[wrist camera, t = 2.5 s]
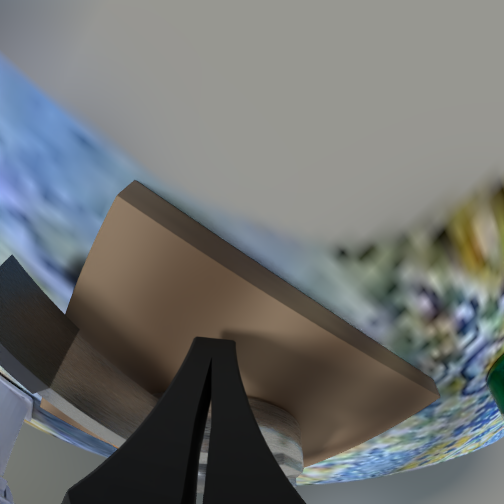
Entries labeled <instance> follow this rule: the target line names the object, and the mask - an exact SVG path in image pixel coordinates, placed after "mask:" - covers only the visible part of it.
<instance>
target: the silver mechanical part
mask: <svg viewBox="0 0 504 504" xmlns="http://www.w3.org/2000/svg"><path fill="white" fill-rule="evenodd" d="M79 330H80V329H79V328H78V327H77V326H76V325H75V324H74V323H73V322H72V321H71V320H70V319H69V318H68V317H67V316H66V315H65V314H64V313H63V312H62V311H61V310H60V309H59V308H58V307H57V306H56V305H55V304H54V303H53V302H52V301H51V300H50V298H49V297H48V296H47V295H46V294H45V293H44V292H43V291H42V290H41V289H40V287H39V286H38V285H37V284H36V283H35V282H34V281H33V279H32V278H31V277H30V276H29V275H28V273H27V272H26V271H25V270H24V269H23V267H22V266H21V265H20V264H19V262H18V261H17V260H16V259H15V257H14V256H13V255H11V256H10V257H9V258H8V259H7V260H6V261H5V262H4V263H3V264H2V265H1V266H0V365H1V366H2V367H3V368H4V369H5V370H6V371H7V372H8V373H9V374H10V375H11V376H12V377H14V378H15V379H16V380H17V381H18V382H19V383H20V384H21V385H23V386H24V387H25V388H26V389H27V390H29V391H30V392H31V393H32V394H34V393H38V394H39V395H40V396H42V397H43V398H44V399H45V400H47V401H48V402H49V403H51V404H52V405H53V406H55V407H56V408H57V409H59V410H60V411H61V412H63V413H64V414H66V415H67V416H69V417H70V418H71V419H73V420H74V421H76V422H77V423H79V424H80V425H82V426H83V427H85V428H86V429H88V430H90V431H91V432H93V433H94V434H96V435H98V436H99V437H101V438H103V439H104V440H106V441H108V442H109V443H111V444H113V445H115V446H116V447H118V448H119V447H120V446H121V445H122V444H123V443H124V442H125V441H126V440H127V439H128V438H129V437H130V436H131V435H132V434H133V432H134V431H135V430H136V429H137V428H138V427H139V426H140V424H141V423H142V422H143V421H144V420H145V418H146V417H147V416H148V415H149V413H150V412H151V411H152V409H153V408H154V407H155V405H156V404H157V402H158V401H159V400H160V398H161V397H162V395H163V394H164V392H161V393H157V394H152V395H151V394H150V393H149V392H147V391H146V390H144V389H143V388H142V387H140V386H139V385H138V384H136V383H135V382H134V381H133V380H131V379H130V378H129V377H127V376H126V375H125V374H124V373H122V372H121V371H120V370H119V369H117V368H116V367H115V366H114V365H113V364H111V363H110V362H109V361H108V360H107V359H105V358H104V357H103V356H102V355H101V354H100V353H98V352H97V351H96V350H95V349H94V348H93V347H92V346H91V345H89V344H88V343H87V342H86V341H85V340H84V339H83V338H82V337H81V336H80V335H79V334H78V332H79ZM248 401H249V404H250V406H251V409H252V412H253V414H254V417H255V419H256V421H257V424H258V426H259V428H260V430H261V433H262V435H263V437H264V439H265V441H266V443H267V445H268V447H269V448H270V450H271V452H272V454H273V456H274V457H275V459H276V461H277V463H278V464H279V466H280V467H281V469H282V470H283V472H284V474H285V475H286V477H287V478H288V480H289V481H290V483H291V484H292V486H293V487H296V477H298V476H299V475H300V474H301V473H303V469H304V464H303V453H302V442H301V432H300V426H299V424H298V422H297V420H296V419H295V418H294V417H293V416H292V415H290V414H289V413H287V412H286V411H284V410H282V409H280V408H278V407H276V406H273V405H271V404H268V403H265V402H262V401H259V400H255V399H251V398H248ZM210 429H211V402H210V407H209V412H208V417H207V422H206V427H205V432H204V437H203V442H202V447H201V453H200V459H199V470H198V482H197V493H204V486H205V476H206V467H207V457H208V448H209V438H210Z"/></svg>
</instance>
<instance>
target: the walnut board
mask: <svg viewBox="0 0 504 504" xmlns="http://www.w3.org/2000/svg"><path fill="white" fill-rule="evenodd" d="M65 315H66V316H67V317H68V318H69V319H70V320H71V321H72V322H73V323H74V324H75V325H76V326H77V327H78V328H79V329H80V330H79V332H78V334H79V335H80V336H81V337H82V338H83V339H84V340H85V341H86V342H87V343H88V344H89V345H91V346H92V347H93V348H94V349H95V350H96V351H97V352H98V353H100V354H101V355H102V356H103V357H104V358H105V359H107V360H108V361H109V362H110V363H111V364H113V365H114V366H115V367H116V368H117V369H119V370H120V371H121V372H122V373H124V374H125V375H126V376H127V377H129V378H130V379H131V380H133V381H134V382H135V383H136V384H138V385H139V386H140V387H142V388H143V389H144V390H146V391H147V392H149V393H150V394H151V395H152V394H157V393H161V392H165V391H166V390H167V388H168V386H169V385H170V383H171V382H172V380H173V378H174V377H175V375H176V373H177V372H178V370H179V368H180V366H181V365H182V363H183V361H184V359H185V357H186V355H187V353H188V351H189V349H190V346H191V344H192V341H193V339H194V338H195V337H197V336H198V337H207V338H217V339H227V340H233V341H235V342H236V353H237V360H238V366H239V370H240V374H241V378H242V382H243V385H244V389H245V392H246V395H247V398H251V399H255V400H259V401H262V402H265V403H268V404H271V405H273V406H276V407H278V408H280V409H282V410H284V411H286V412H287V413H289V414H290V415H292V416H293V417H294V418H295V419H296V420H297V422H298V424H299V426H300V432H301V442H302V453H303V464H304V468H305V467H307V466H310V465H313V464H315V463H318V462H320V461H323V460H325V459H328V458H330V457H333V456H335V455H337V454H340V453H342V452H344V451H346V450H349V449H351V448H353V447H355V446H357V445H359V444H361V443H363V442H365V441H367V440H369V439H371V438H373V437H375V436H377V435H379V434H381V433H383V432H385V431H386V430H388V429H390V428H392V427H394V426H395V425H397V424H399V423H401V422H402V421H404V420H406V419H407V418H409V417H411V416H412V415H414V414H416V413H417V412H419V411H420V410H422V409H423V408H425V407H427V406H428V405H430V404H431V403H433V402H434V401H436V400H437V399H438V398H440V394H439V392H438V390H437V387H436V385H435V383H434V380H433V379H432V378H430V377H428V376H427V375H425V374H424V373H422V372H421V371H419V370H418V369H416V368H415V367H413V366H412V365H410V364H409V363H407V362H406V361H404V360H403V359H401V358H400V357H398V356H397V355H395V354H393V353H392V352H390V351H389V350H387V349H386V348H384V347H383V346H381V345H380V344H378V343H377V342H375V341H374V340H372V339H371V338H369V337H368V336H366V335H365V334H363V333H362V332H360V331H359V330H357V329H356V328H354V327H353V326H351V325H350V324H348V323H347V322H345V321H344V320H342V319H341V318H339V317H338V316H336V315H335V314H333V313H332V312H330V311H329V310H327V309H326V308H324V307H323V306H321V305H320V304H318V303H317V302H315V301H314V300H312V299H311V298H309V297H308V296H306V295H305V294H303V293H302V292H300V291H299V290H297V289H296V288H294V287H293V286H291V285H290V284H288V283H287V282H285V281H284V280H282V279H281V278H279V277H278V276H276V275H275V274H273V273H272V272H270V271H269V270H267V269H266V268H264V267H263V266H261V265H260V264H258V263H257V262H255V261H254V260H252V259H251V258H249V257H248V256H246V255H245V254H243V253H242V252H240V251H239V250H237V249H236V248H235V247H233V246H232V245H230V244H229V243H227V242H226V241H224V240H223V239H221V238H220V237H218V236H217V235H215V234H214V233H212V232H211V231H209V230H208V229H206V228H205V227H203V226H202V225H200V224H199V223H198V222H196V221H195V220H193V219H192V218H190V217H189V216H187V215H186V214H184V213H183V212H181V211H180V210H178V209H177V208H175V207H174V206H172V205H171V204H170V203H168V202H167V201H165V200H164V199H162V198H161V197H159V196H158V195H156V194H155V193H153V192H152V191H150V190H149V189H147V188H146V187H145V186H143V185H142V184H140V183H139V182H137V181H136V180H134V181H133V182H132V183H131V184H129V185H128V186H127V187H126V188H125V189H124V190H122V191H121V192H120V193H119V194H118V195H117V196H116V198H115V200H114V202H113V204H112V206H111V208H110V210H109V212H108V214H107V216H106V218H105V220H104V222H103V224H102V226H101V228H100V230H99V232H98V234H97V236H96V239H95V241H94V243H93V245H92V247H91V250H90V252H89V254H88V257H87V259H86V261H85V264H84V266H83V268H82V271H81V273H80V276H79V278H78V281H77V283H76V286H75V289H74V291H73V294H72V297H71V299H70V302H69V305H68V308H67V310H66V313H65ZM40 407H41V408H43V409H44V410H46V411H48V412H49V413H51V414H53V415H54V416H56V417H58V418H59V419H61V420H63V421H65V422H67V423H68V424H70V425H72V426H74V427H76V428H78V429H80V430H82V431H84V432H85V433H87V434H89V435H92V436H94V437H96V438H98V439H100V440H102V441H104V442H106V443H109V442H108V441H106V440H104V439H103V438H101V437H99V436H98V435H96V434H94V433H93V432H91V431H90V430H88V429H86V428H85V427H83V426H82V425H80V424H79V423H77V422H76V421H74V420H73V419H71V418H70V417H69V416H67V415H66V414H64V413H63V412H61V411H60V410H59V409H57V408H56V407H55V406H53V405H52V404H51V403H49V402H48V401H47V400H45V399H44V398H43V397H42V400H41V405H40ZM109 444H111V443H109ZM111 445H113V444H111ZM113 446H114V447H116V446H115V445H113ZM116 448H118V447H116Z"/></svg>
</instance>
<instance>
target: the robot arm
mask: <svg viewBox="0 0 504 504" xmlns="http://www.w3.org/2000/svg"><path fill="white" fill-rule="evenodd" d="M210 402H211V429H210V438H209V448H208V457H207V467H206V476H205V486H204V495H203V504H306V503H305V502H304V500H303V499H302V498H301V496H300V495H299V494H298V493H297V491H296V490H295V488H294V487H293V486H292V484H291V483H290V481H289V480H288V478H287V477H286V475H285V474H284V472H283V470H282V469H281V467H280V466H279V464H278V463H277V461H276V459H275V457H274V456H273V454H272V452H271V450H270V448H269V447H268V445H267V443H266V441H265V439H264V437H263V435H262V433H261V430H260V428H259V426H258V424H257V421H256V419H255V417H254V414H253V412H252V409H251V406H250V404H249V401H248V398H247V395H246V392H245V389H244V385H243V382H242V378H241V374H240V370H239V366H238V360H237V353H236V342H235V341H233V340H227V339H217V338H207V337H198V336H197V337H195V338H194V339H193V341H192V344H191V346H190V349H189V351H188V353H187V355H186V357H185V359H184V361H183V363H182V365H181V366H180V368H179V370H178V372H177V373H176V375H175V377H174V378H173V380H172V382H171V383H170V385H169V386H168V388H167V390H166V391H165V392H164V394H163V395H162V397H161V398H160V400H159V401H158V402H157V404H156V405H155V407H154V408H153V409H152V411H151V412H150V413H149V415H148V416H147V417H146V418H145V420H144V421H143V422H142V423H141V424H140V426H139V427H138V428H137V429H136V430H135V431H134V432H133V434H132V435H131V436H130V437H129V438H128V439H127V440H126V441H125V442H124V443H123V444H122V445H121V446H120V447H119V448H118V449H117V450H116V451H115V452H114V453H113V454H112V455H111V456H110V457H109V458H107V459H106V460H105V461H104V462H103V463H102V464H101V465H100V466H98V467H97V468H96V469H95V470H94V471H92V472H91V473H90V474H89V475H87V476H86V477H85V478H83V479H82V480H80V481H79V482H78V483H76V484H75V485H73V486H72V487H71V488H69V489H68V491H67V492H66V494H65V496H64V499H63V501H62V503H61V504H196V496H197V495H196V494H197V482H198V470H199V459H200V453H201V447H202V442H203V437H204V432H205V427H206V422H207V417H208V412H209V407H210ZM32 409H33V399H32V398H31V397H30V396H28V395H27V394H26V393H24V392H23V391H21V390H20V389H18V388H17V387H16V386H14V385H13V384H11V383H10V382H9V381H7V380H6V379H5V378H3V377H2V376H1V375H0V475H1V476H3V474H4V471H5V468H6V465H7V462H8V459H9V457H10V454H11V451H12V448H13V446H14V443H15V441H16V438H17V436H18V433H19V431H20V428H21V426H22V423H23V421H24V419H26V420H27V421H31V418H32ZM0 504H14V503H13V497H12V494H11V492H10V489H9V487H8V485H7V481H6V480H5V479H3V478H2V477H0Z"/></svg>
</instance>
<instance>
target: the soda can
mask: <svg viewBox="0 0 504 504" xmlns="http://www.w3.org/2000/svg"><path fill="white" fill-rule="evenodd" d="M487 386H488V388H489V390H490V392H491V394H492V396H493V398H494V400H495V402H496V404H497V407H498V409H499V411H500V413H501V415H502V418H503V420H504V354H503V355H502V356H501V357H500V358H499V359H498V360H497V361H496V362H495V364H494V365H493V366H492V368H491V369H490V371H489V374H488V378H487Z"/></svg>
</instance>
